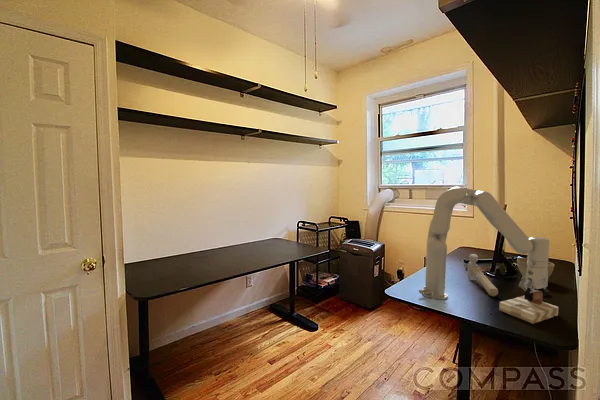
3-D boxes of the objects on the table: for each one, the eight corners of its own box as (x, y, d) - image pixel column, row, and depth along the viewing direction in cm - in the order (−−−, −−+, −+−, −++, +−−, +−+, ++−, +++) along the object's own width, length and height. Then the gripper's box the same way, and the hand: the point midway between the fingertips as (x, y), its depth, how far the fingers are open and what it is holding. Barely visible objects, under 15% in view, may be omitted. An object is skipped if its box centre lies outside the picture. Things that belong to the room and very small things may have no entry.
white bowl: (549, 287, 166) (551, 267, 165) (512, 279, 180) (513, 260, 179) (555, 281, 177) (557, 262, 176) (520, 273, 191) (521, 256, 190)
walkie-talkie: (491, 275, 189) (465, 266, 208) (491, 268, 188) (465, 260, 207) (481, 276, 186) (455, 267, 205) (481, 269, 186) (456, 261, 205)
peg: (537, 313, 132) (538, 294, 131) (524, 308, 137) (525, 290, 136) (544, 311, 134) (545, 292, 133) (530, 306, 139) (532, 288, 138)
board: (532, 323, 123) (533, 314, 123) (499, 310, 136) (499, 302, 135) (557, 315, 131) (558, 306, 131) (523, 303, 144) (524, 295, 143)
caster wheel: (549, 300, 154) (531, 297, 154) (533, 288, 165) (517, 285, 165) (554, 289, 153) (536, 286, 152) (538, 278, 163) (521, 275, 163)
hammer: (501, 280, 149) (476, 253, 178) (491, 279, 150) (468, 253, 178) (495, 305, 154) (473, 275, 182) (486, 305, 155) (465, 275, 183)
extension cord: (526, 267, 209) (527, 264, 208) (522, 271, 198) (522, 268, 198) (506, 263, 217) (507, 261, 217) (501, 267, 207) (501, 264, 207)
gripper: (535, 267, 127) (533, 304, 128) (556, 263, 134) (553, 298, 135) (517, 263, 134) (514, 298, 135) (538, 259, 141) (535, 293, 142)
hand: (534, 298), depth 135 cm, fingers open, 9 cm apart
